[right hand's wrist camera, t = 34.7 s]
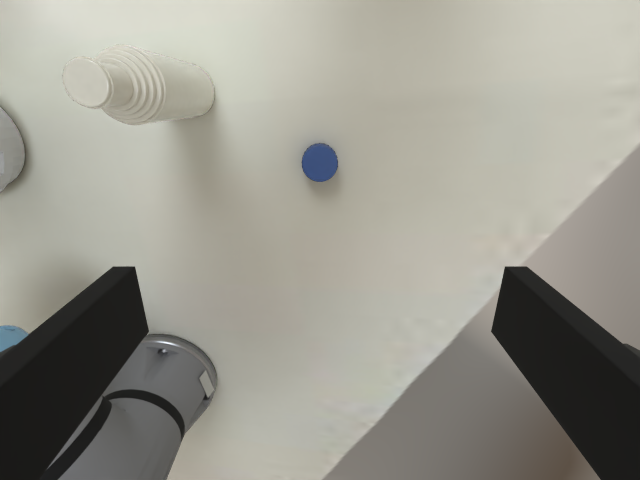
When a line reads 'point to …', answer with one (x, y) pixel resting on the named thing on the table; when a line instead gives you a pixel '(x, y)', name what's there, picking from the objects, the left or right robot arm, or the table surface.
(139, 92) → the bottle
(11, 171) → the flag stand
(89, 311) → the right robot arm
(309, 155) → the cap
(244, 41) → the table surface
